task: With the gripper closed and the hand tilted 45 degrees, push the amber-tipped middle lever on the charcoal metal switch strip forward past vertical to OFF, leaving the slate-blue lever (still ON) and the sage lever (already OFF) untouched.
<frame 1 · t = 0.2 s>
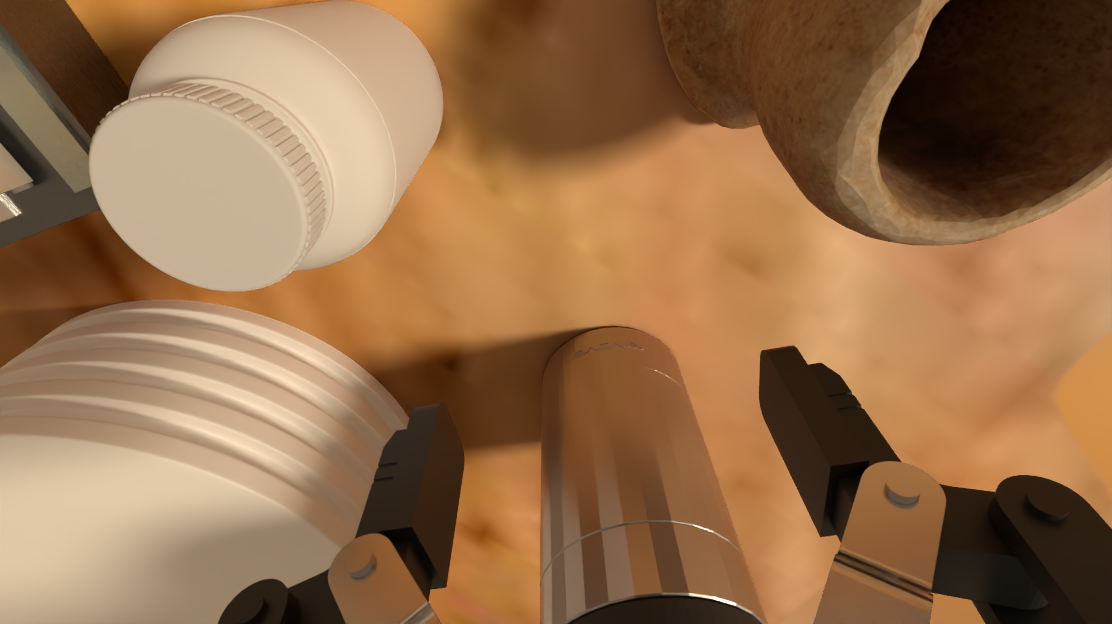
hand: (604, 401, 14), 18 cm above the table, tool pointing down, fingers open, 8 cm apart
plate stack: (237, 460, 40), on the table
pill bottle: (366, 93, 26), on the table
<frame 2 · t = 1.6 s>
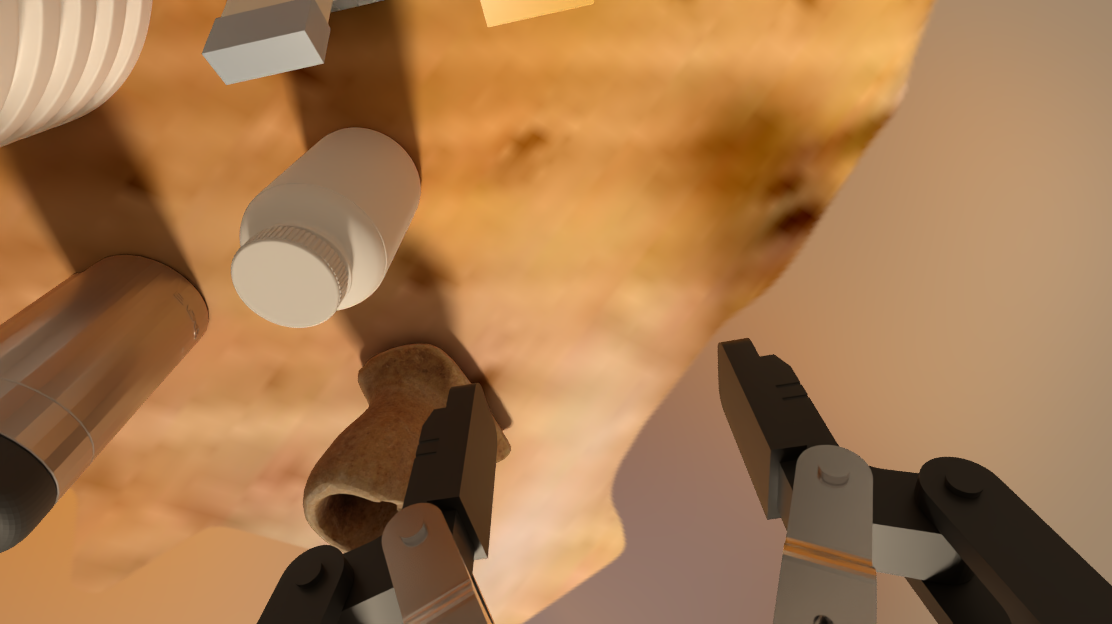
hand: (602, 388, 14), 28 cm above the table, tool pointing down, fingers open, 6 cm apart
brown boot: (426, 400, 52), on the table
pill bottle: (368, 179, 39), on the table
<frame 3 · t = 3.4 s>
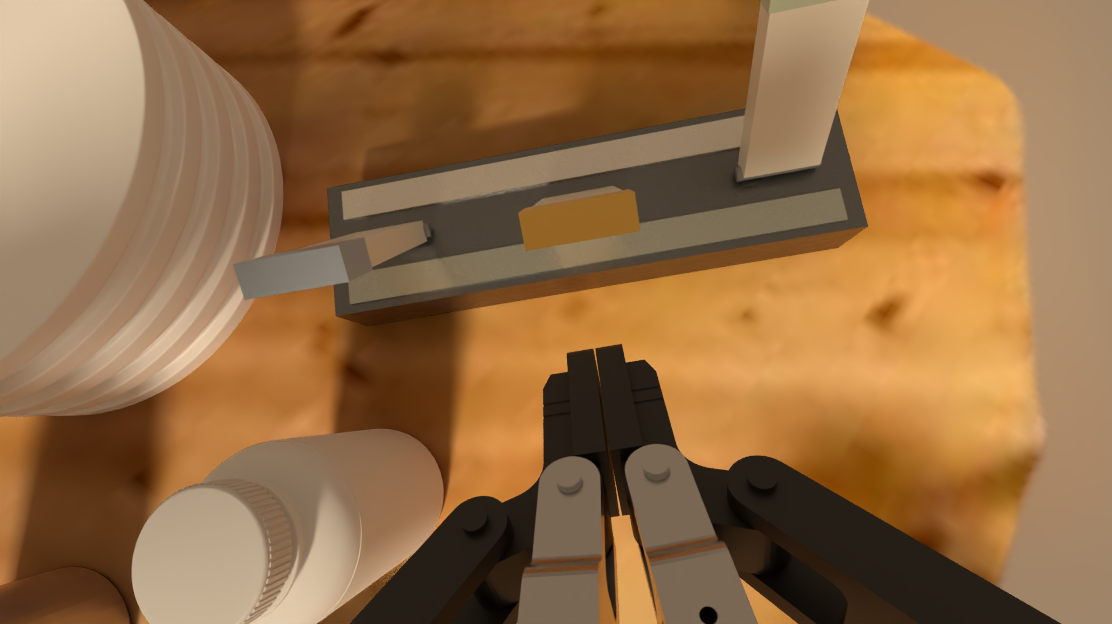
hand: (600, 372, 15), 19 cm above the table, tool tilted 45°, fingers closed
plate stack: (106, 220, 39), on the table
lever sage: (797, 73, 25), point 9 cm above the table, hinge at 25.0°
lever slate: (354, 250, 26), point 9 cm above the table, hinge at -25.0°
switch strip: (584, 228, 35), on the table
lever amber: (579, 209, 25), point 9 cm above the table, hinge at -25.0°
pill bottle: (385, 493, 33), on the table
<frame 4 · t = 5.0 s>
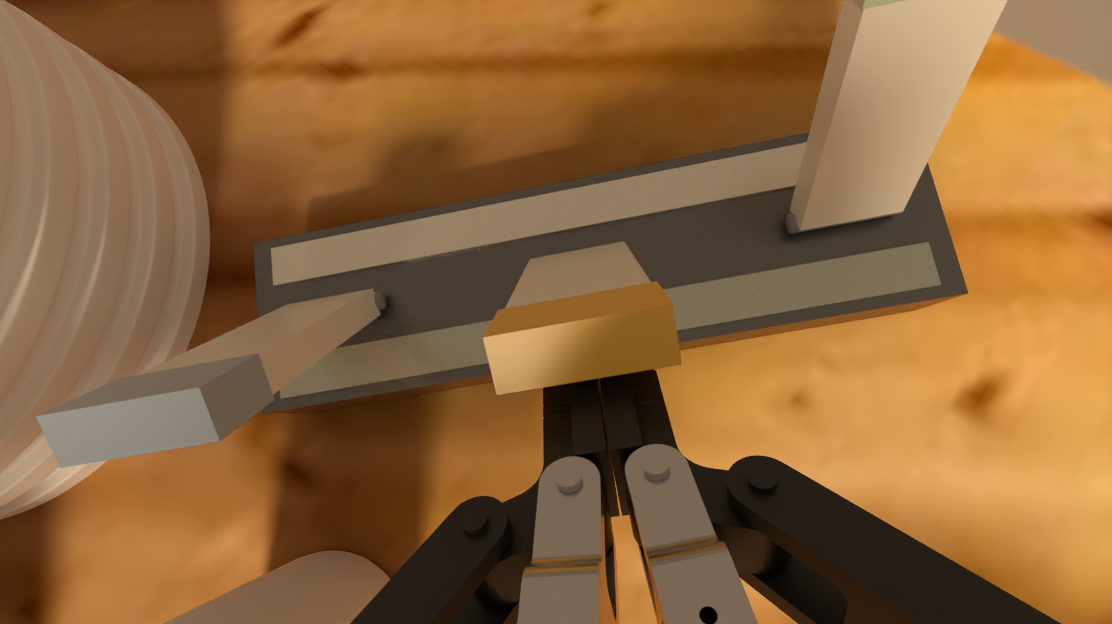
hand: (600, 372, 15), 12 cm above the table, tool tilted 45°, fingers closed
lever sage: (888, 94, 17), point 9 cm above the table, hinge at 25.0°
lever slate: (266, 348, 18), point 9 cm above the table, hinge at -25.0°
switch strip: (585, 286, 27), on the table
lever amber: (580, 291, 18), point 9 cm above the table, hinge at -25.0°, touching gripper
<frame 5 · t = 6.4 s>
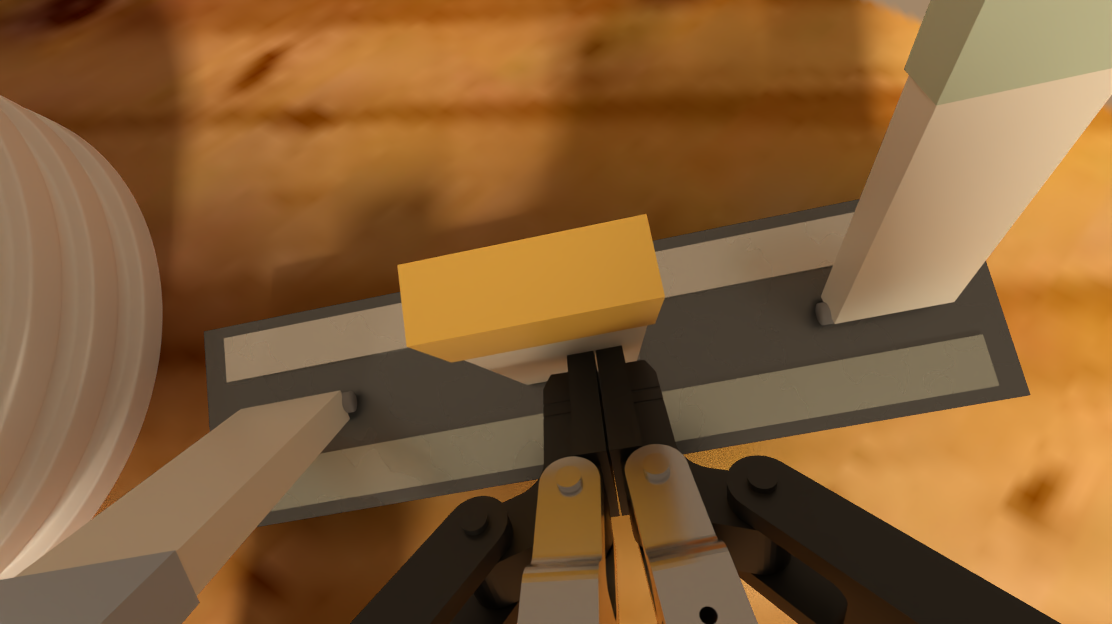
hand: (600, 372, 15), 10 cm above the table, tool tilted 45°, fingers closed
lever sage: (950, 186, 14), point 9 cm above the table, hinge at 25.0°
lever slate: (203, 497, 15), point 9 cm above the table, hinge at -25.0°
switch strip: (585, 366, 24), on the table
lever amber: (563, 336, 14), point 10 cm above the table, hinge at 2.3°, touching gripper
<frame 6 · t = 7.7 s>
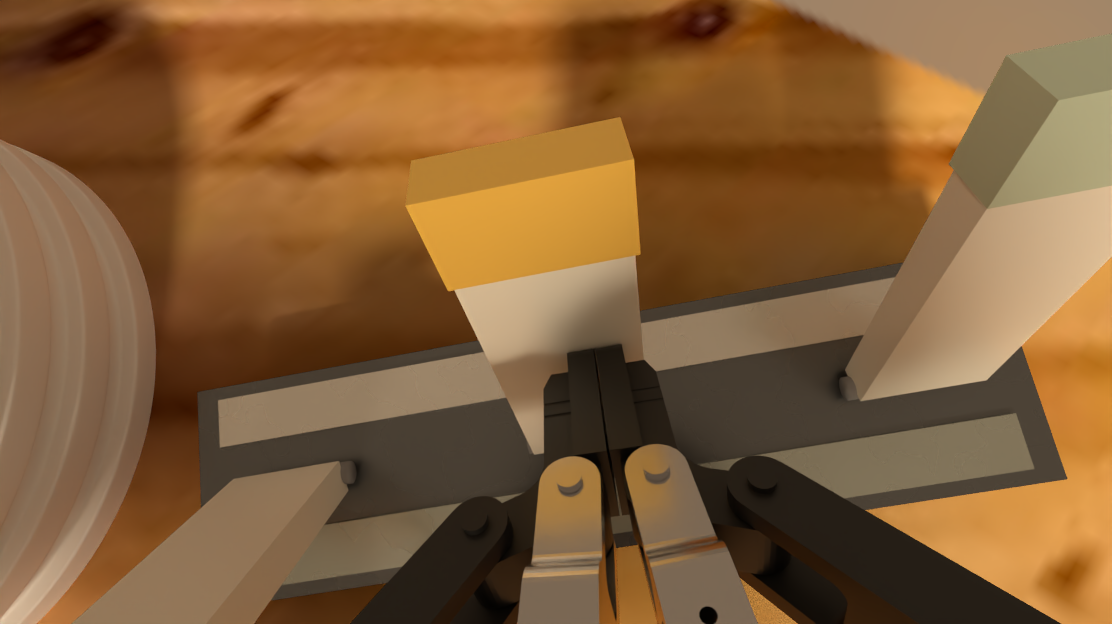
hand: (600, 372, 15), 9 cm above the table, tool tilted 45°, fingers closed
lever sage: (990, 274, 14), point 9 cm above the table, hinge at 25.0°
lever slate: (190, 595, 14), point 9 cm above the table, hinge at -25.0°
switch strip: (594, 428, 23), on the table
lever amber: (565, 341, 15), point 9 cm above the table, hinge at 28.2°, touching gripper
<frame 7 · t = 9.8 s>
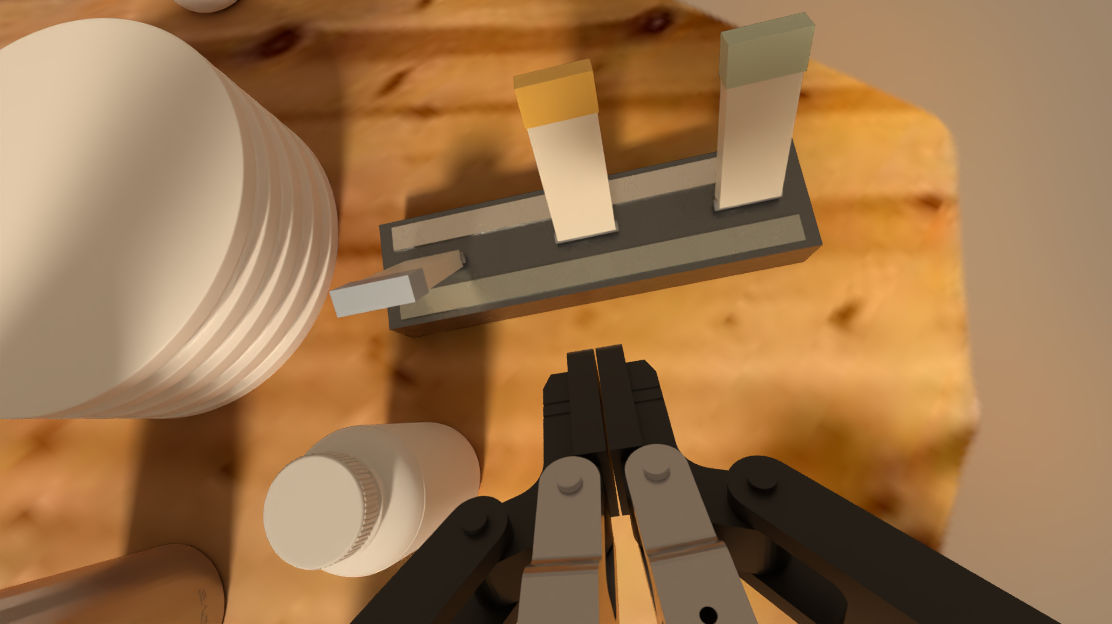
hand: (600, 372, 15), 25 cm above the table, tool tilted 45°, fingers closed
plate stack: (190, 255, 47), on the table
lever sage: (755, 128, 32), point 9 cm above the table, hinge at 25.0°
lever slate: (409, 276, 33), point 9 cm above the table, hinge at -25.0°
switch strip: (591, 251, 41), on the table
lever amber: (572, 165, 33), point 9 cm above the table, hinge at 28.2°
pill bottle: (431, 476, 40), on the table
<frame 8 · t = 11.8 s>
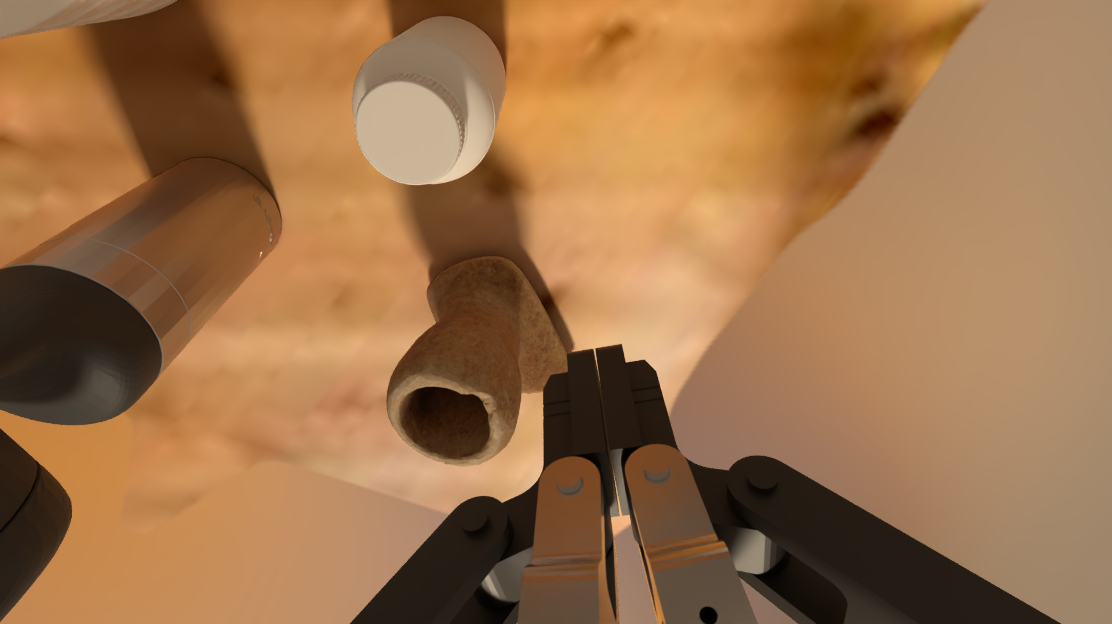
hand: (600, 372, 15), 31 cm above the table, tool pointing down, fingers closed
brown boot: (490, 322, 52), on the table
pill bottle: (452, 76, 39), on the table
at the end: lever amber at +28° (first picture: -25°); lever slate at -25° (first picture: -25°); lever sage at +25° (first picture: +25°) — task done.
